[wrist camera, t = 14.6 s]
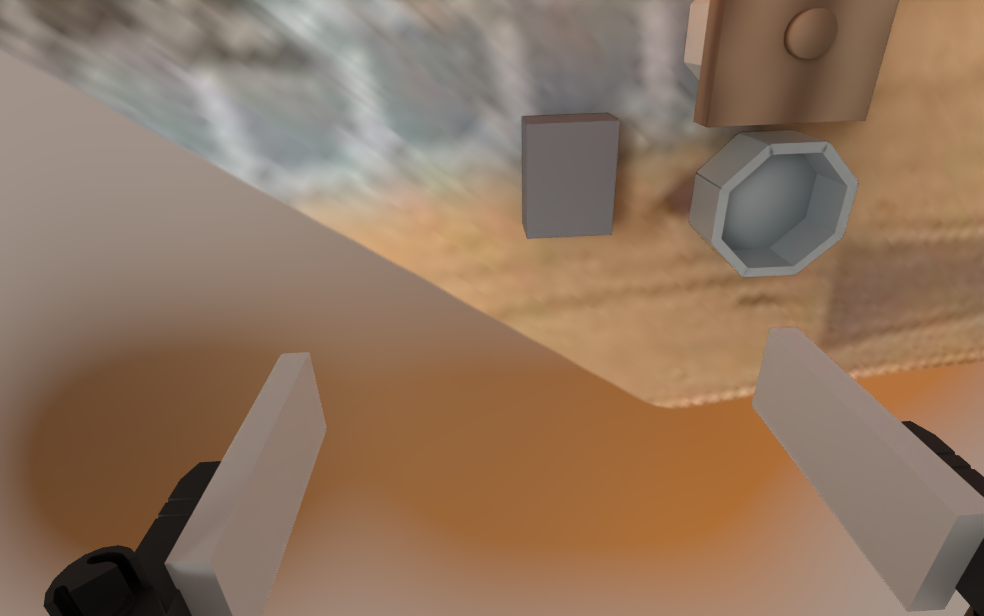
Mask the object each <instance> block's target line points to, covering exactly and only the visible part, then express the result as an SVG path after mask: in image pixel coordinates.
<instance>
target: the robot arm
mask: <svg viewBox="0 0 984 616" xmlns="http://www.w3.org/2000/svg"><path fill="white" fill-rule="evenodd" d="M752 406H753V408H754V409H755V410H756V412H757V413H758V414H759V416H760V417H761V418H762V420H763V421H764V422H765V424H766V425H767V426H768V428H769V429H770V430H771V431H772V433H773V434H774V436H775V437H776V438H777V440H778V441H779V442H780V443H781V445H782V446H783V448H784V449H785V450H786V452H787V453H788V454H789V456H790V457H791V458H792V459H793V461H794V462H795V464H796V465H797V466H798V468H799V469H800V470H801V472H802V473H803V474H804V476H805V477H806V478H807V480H808V481H809V482H810V484H811V485H812V486H813V487H814V489H815V490H816V491H817V493H818V494H819V495H820V497H821V498H822V499H823V501H824V502H825V503H826V505H827V506H828V507H829V509H830V510H831V511H832V513H833V514H834V515H835V517H836V518H837V519H838V521H839V522H840V523H841V525H842V526H843V527H844V529H845V530H846V531H847V533H848V534H849V535H850V536H851V538H852V539H853V541H854V542H855V543H856V544H857V546H858V547H859V548H860V550H861V551H862V552H863V554H864V555H865V556H866V558H867V559H868V560H869V562H870V563H871V564H872V566H873V567H874V568H875V570H876V571H877V572H878V574H879V575H880V576H881V577H882V579H883V580H884V582H885V583H886V584H887V586H888V587H889V588H890V590H891V591H892V592H893V594H894V595H895V596H896V598H897V599H898V600H899V602H900V603H901V604H902V606H903V607H904V608H905V610H906V611H907V612H910V611H925V610H941V609H945V607H946V606H947V604H948V602H949V600H950V599H951V597H952V595H953V594H954V592H955V590H957V591H958V592H959V593H960V594H961V595H962V597H963V598H964V599H965V600H966V601H967V602H968V603H969V605H970V607H969V608H968V610H967V612H966V613H965V615H964V616H984V477H983V476H982V475H981V474H980V473H978V472H977V471H976V470H975V469H971V466H970V465H969V464H968V463H967V462H966V461H965V460H964V459H962V458H961V457H960V456H958V455H955V452H954V451H953V450H952V449H951V448H950V447H949V446H947V445H946V444H945V443H944V442H943V441H942V440H941V439H939V438H938V437H937V436H936V435H934V434H933V433H931V432H929V431H927V430H925V429H924V428H922V427H920V426H918V425H917V424H915V423H913V422H911V421H903V422H900V421H899V420H898V419H897V418H896V417H894V416H893V415H892V414H891V413H890V412H889V411H888V410H887V409H886V408H884V406H882V405H881V404H880V403H879V402H878V401H877V400H876V399H875V398H874V397H873V396H871V395H870V394H869V393H868V392H867V391H866V390H865V389H864V388H863V387H862V386H861V385H859V384H858V383H857V382H856V381H855V380H854V379H853V378H852V377H851V376H850V375H848V374H847V373H846V372H845V371H844V370H843V369H842V368H841V367H840V366H839V365H837V364H836V363H835V362H834V361H833V360H832V359H831V358H830V357H829V356H828V355H827V354H825V353H824V352H823V351H822V350H821V349H820V348H819V347H818V346H817V345H816V344H814V343H813V342H812V341H811V340H810V339H809V338H808V337H807V336H806V335H805V334H803V333H802V332H801V331H800V330H799V329H798V328H797V327H787V328H770V331H769V335H768V339H767V343H766V347H765V351H764V355H763V360H762V364H761V368H760V372H759V376H758V380H757V384H756V389H755V393H754V397H753V401H752ZM325 432H326V424H325V420H324V415H323V411H322V406H321V402H320V398H319V394H318V389H317V384H316V380H315V376H314V371H313V367H312V363H311V358H310V354H309V352H305V353H286V354H281V356H280V358H279V360H278V361H277V363H276V365H275V367H274V368H273V370H272V372H271V374H270V376H269V377H268V379H267V381H266V383H265V385H264V386H263V388H262V390H261V392H260V393H259V395H258V397H257V399H256V401H255V402H254V404H253V406H252V408H251V409H250V412H249V413H248V415H247V417H246V419H245V420H244V422H243V424H242V426H241V427H240V429H239V431H238V433H237V435H236V436H235V438H234V440H233V442H232V444H231V446H230V447H229V449H228V451H227V452H226V454H225V456H224V458H223V460H222V461H216V462H200V463H199V464H197V465H196V466H195V467H194V468H193V469H192V470H191V471H189V472H188V473H187V474H186V475H185V476H184V477H183V478H182V479H180V481H179V482H178V484H177V486H176V487H175V489H174V490H173V492H172V494H171V495H170V497H169V498H168V503H165V505H164V506H163V508H162V510H161V511H160V513H159V514H158V516H159V517H158V519H155V521H154V522H153V524H152V526H151V527H150V529H149V530H148V532H147V534H146V535H145V537H144V538H143V540H142V541H141V543H140V545H139V546H138V548H137V549H136V551H135V553H134V552H133V550H132V549H131V548H128V547H124V546H119V545H117V546H111V547H104V548H101V549H98V550H95V551H93V552H91V553H88V554H85V555H84V556H82V557H81V558H79V559H78V560H76V561H75V562H73V563H71V564H70V565H68V566H67V567H66V568H65V569H64V570H63V571H62V572H61V573H60V574H59V575H58V576H57V577H56V578H55V579H54V580H53V582H52V584H51V585H50V587H49V588H48V590H47V591H46V593H45V600H44V607H45V609H46V610H47V612H48V613H49V615H50V616H262V615H263V612H264V609H265V606H266V603H267V601H268V597H269V595H270V592H271V589H272V586H273V583H274V580H275V577H276V574H277V571H278V569H279V565H280V563H281V560H282V557H283V554H284V551H285V548H286V545H287V542H288V540H289V537H290V534H291V530H292V528H293V525H294V522H295V519H296V516H297V513H298V510H299V508H300V505H301V502H302V499H303V496H304V493H305V490H306V487H307V484H308V481H309V478H310V475H311V473H312V470H313V467H314V464H315V461H316V458H317V455H318V452H319V449H320V446H321V443H322V441H323V438H324V435H325Z"/></svg>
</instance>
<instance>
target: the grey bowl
mask: <svg viewBox="0 0 984 616" xmlns="http://www.w3.org/2000/svg"><path fill="white" fill-rule="evenodd" d="M697 173H698V174H696V175H695V182H694V189H693V196H692V203H691V209H690V216H689V223H690V226H691V227H692V228H693V229H694V230H695V231H696V232H697V233H698V234H699V235H700V236H701V237H702V238H703V239H704V240H705V242H706V243H707V244H708V245H709V246H710V247H711V248H712V249H713V250H714V251H715V252H716V253H717V254H718V255H719V256H720V257H721V258H722V259H723V260H724V261H725V262H726V263H728V264H729V265H730V266H731V267H732V268H733V269H734V270H735V271H736V272H737V273H739V274H740V275H741V276H743V277H757V276H778V275H795V273H796V274H797V273H798V272H799V271H801V270H802V269H803V268H805V267H806V266H807V265H808V264H810V263H811V262H812V261H813V260H815V259H816V258H817V257H818V256H820V255H821V254H822V253H824V252H825V251H826V250H827V249H829V248H830V247H831V246H832V245H834V244H835V243H836V242H837V241H839V240H840V239H841V238H842V237H841V236H844V232H845V229H846V225H847V222H848V218H849V215H850V211H851V208H852V205H853V201H854V198H855V194H856V191H857V187H858V184H859V183H857V182H858V180H857V179H856V177H855V176H854V175H853V173H852V172H851V170H850V169H849V168H848V166H847V165H846V164H845V162H844V161H843V160H842V158H841V157H840V155H839V154H838V153H837V151H836V150H835V149H834V147H833V146H832V145H831V143H830V142H828V141H825V140H822V139H819V138H816V137H813V136H809V135H806V134H803V133H800V132H797V131H794V130H782V131H759V132H740V133H738V134H737V135H736V136H735V137H734V138H733V139H732V140H731V141H730V142H729V143H727V144H726V145H725V146H724V147H723V148H722V149H721V150H720V151H719V152H718V153H717V154H716V155H714V156H713V157H712V158H711V159H710V160H709V161H708V162H707V163H706V164H705V165H704V166H703V167H701V168H700V169H699V170H698V171H697Z"/></svg>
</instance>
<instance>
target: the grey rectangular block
mask: <svg viewBox="0 0 984 616" xmlns="http://www.w3.org/2000/svg"><path fill="white" fill-rule="evenodd" d="M619 129H620V120H619V119H617V118H615V117H614V116H612V115H611V114H609V113H588V114H565V115H541V116H522V223H523V227H524V230H525V234H526V237H527V239H531V238H552V237H574V236H595V235H612V223H613V209H614V196H615V183H616V169H617V156H618V143H619Z"/></svg>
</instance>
